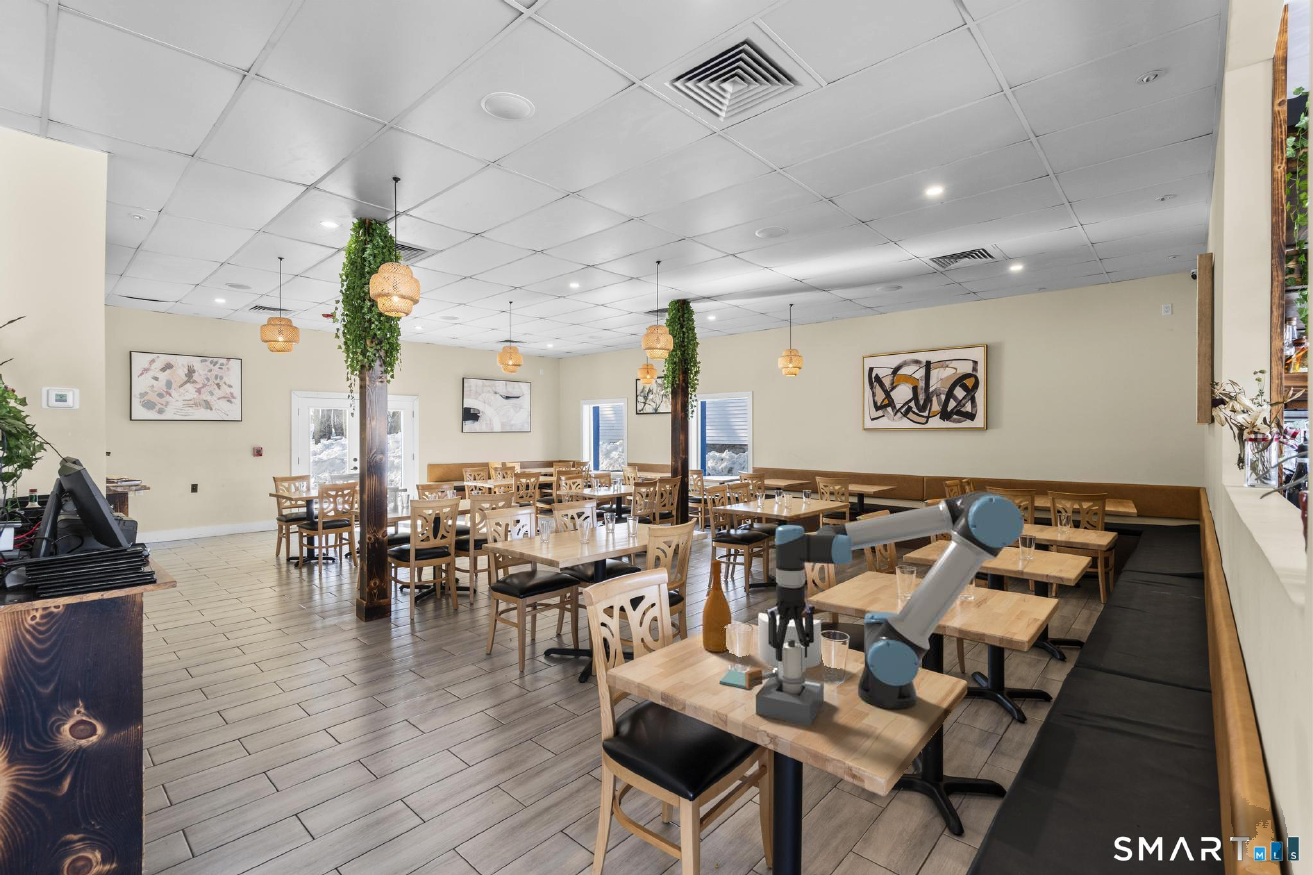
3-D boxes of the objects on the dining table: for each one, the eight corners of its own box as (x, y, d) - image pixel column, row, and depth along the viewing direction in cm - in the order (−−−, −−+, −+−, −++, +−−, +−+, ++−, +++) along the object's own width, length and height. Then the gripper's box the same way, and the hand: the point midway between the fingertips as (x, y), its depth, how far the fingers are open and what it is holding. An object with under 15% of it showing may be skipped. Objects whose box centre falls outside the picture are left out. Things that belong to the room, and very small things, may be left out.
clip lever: (750, 689, 160) (750, 674, 160) (743, 685, 163) (743, 670, 163) (799, 674, 170) (799, 659, 170) (791, 670, 173) (791, 656, 172)
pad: (758, 677, 181) (758, 675, 181) (749, 689, 173) (749, 686, 173) (730, 672, 185) (730, 669, 185) (719, 683, 177) (719, 680, 177)
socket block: (823, 700, 166) (823, 677, 166) (809, 725, 152) (809, 700, 152) (773, 690, 173) (773, 668, 172) (755, 713, 158) (755, 689, 158)
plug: (808, 695, 164) (807, 638, 163) (802, 706, 157) (801, 646, 157) (782, 690, 167) (781, 634, 167) (775, 701, 161) (774, 642, 160)
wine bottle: (726, 642, 212) (726, 556, 212) (735, 652, 202) (734, 562, 202) (699, 644, 210) (699, 557, 210) (706, 654, 201) (706, 563, 200)
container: (825, 651, 203) (825, 611, 203) (815, 673, 185) (815, 629, 184) (766, 643, 211) (766, 604, 211) (751, 663, 193) (751, 621, 193)
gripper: (812, 577, 168) (813, 661, 168) (753, 583, 163) (754, 670, 163) (827, 584, 161) (829, 671, 161) (766, 590, 155) (768, 681, 156)
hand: (791, 671), depth 162 cm, fingers closed on plug, 5 cm apart
